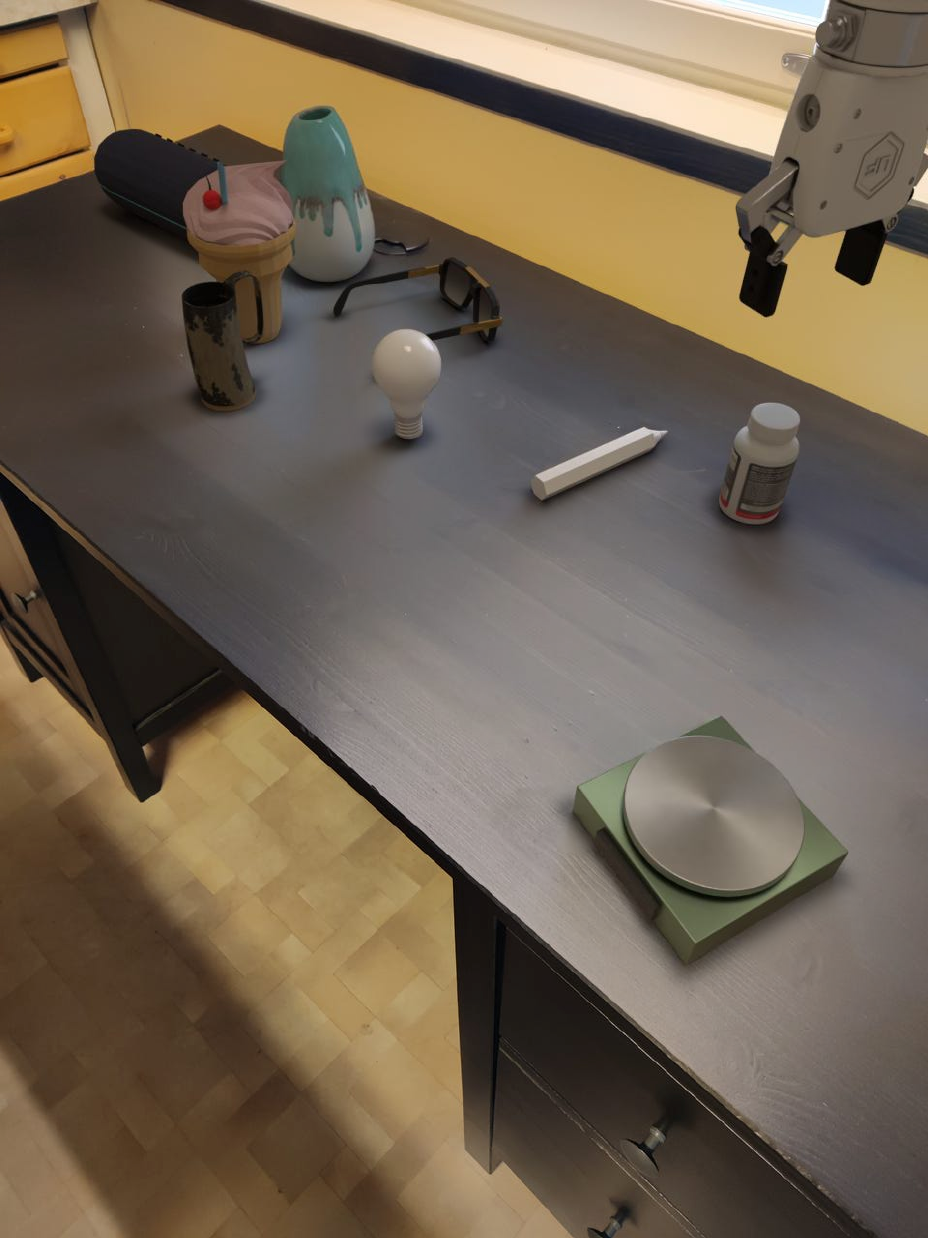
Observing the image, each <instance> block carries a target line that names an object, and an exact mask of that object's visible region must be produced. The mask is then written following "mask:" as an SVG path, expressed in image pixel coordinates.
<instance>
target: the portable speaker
mask: <svg viewBox="0 0 928 1238" xmlns="http://www.w3.org/2000/svg"><path fill="white" fill-rule="evenodd" d="M218 161H219V162H220V161H221V160H220V159H218V158H215V157H213V158H210V157H209V155H208V154H206V153H204V152H201V153H198V152H197V150H196V149H194V148H192V147H189V148H186V147H185V145H184V144H183V143H181V142H177V143H175V142H174V140H172V139H171V138H169V137H167V138H163V136H162V135H161V134H159V133H157V132H156V133H152V132H149V131H146V130H144V129H141V128H127V129H126V128H125V129H119V130H116V131H114V132H112V133H110V134H109V135H107V136H106V137H105V138H104V139H103V140H102V141H101V142H100V143H99V144H98V145H97V149H96V151H95V153H94V157H93V171H94V174H95V177H96V180H97V182H98V184H99V186H100V189H102V191H103V192H104V193H105V195H106V196H107V197H108V198H109V199H111V200H112V201H113V202H114V203H116V204H117V205H118V206H119V207H121V208H122V209H124V210H126V211H127V212H129V213H131V214H133V215H134V216H135V215H136V216H137V217H139V218H141V219H144V220H145V221H148V222H149V223H152V224H154V225H156V226H158V227H160V228H162V229H164V230H165V231H168V232H170V233H172V234H174V235H176V236H178V237H180V238H182V239H184V240H186V241H188V237H187V225H186V223H185V219H184V216H183V202H184V199H185V197H186V195H187V192H188V191H189V190H190V189H191V188H192V187H193V186H194V185H195V184H196V183H197V182H198V181H199V180H200V179H202V178H204V177H205V176H207V175H210V174H211V173H213V172H215V171H217V170H218V166H217V162H218ZM220 163H221V164H222V165H223V166H224V167H226V166H228V165H227V164H224V163H222V162H220Z"/></svg>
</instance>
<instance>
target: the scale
mask: <svg viewBox="0 0 928 1238" xmlns="http://www.w3.org/2000/svg"><path fill="white" fill-rule="evenodd" d="M687 736H709V737H715V738H721V739H725V740H728V741H732V742H735V743H737V744H740V745H742V746H745V747H746V748H748V749H750V750H752V751H754V752H756V750H754V749H753V748H752V746H751V745H750V744H749V743H748V742H747V741H746V740H745V739H744V738H743V736H742V735H741V734H740V733H739V732H738V731H737V730H736V729H735V728H734V727H733V725H731V723H729V721H727V720H726V718H725V717H724V716H723V715H722V714H721V715H718V716H716V717H714V718H712V719H710V720H708V721H706V722H704V723H702V724H700V725H698V726H695V727H694V728H692V729H689V730H688V731H686V732H684V733H682V734H680V735H677V736H676V737H674V738H673V739H675V738H680V737H687ZM647 752H648V751H646V752H644V753H642V754H640V755H638V756H636V757H633V758H632V759H629V760H628V761H626V762H624V763H622V764H620V765H617V766H616V767H613V768H611V769H609V770H607V771H606V772H603V773H601V774H600V775H597V776H595V777H593V778H591V779H589V780H587V781H585V782H583V783H581V784H579V785H578V786H576V789H575V790H576V791H575V795H574V802H573V807H572V813H574V815H575V816H576V818H577V819H578V821H579V822H580V823H581V824H582V826H583V827H584V828H585V831H587V833H588V834H589V836H590V837H591V838H592V839H593V846H595V848H596V849H597V851H598V852H599V854H601V856H602V857H603V859H604V860H605V861H606V863H607V864H608V865H609V867H610V868H611V870H612V871H613V872H614V874H615V875H616V877H617V878H618V880H619V881H620V882H621V883H622V885H623V886H624V887H625V889H626V890H627V891H628V893H629V894H630V895H631V897H632V899H633V900H634V902H635V903H636V904H637V905H638V907H639V909H641V911H642V912H643V913H644V915H645V916H646V917H647V919H648V920H649V921H650V922H653V923H654V924H655V926H656V928H657V929H658V930H659V931H660V932H661V934H662V935H663V937H665V940H666V941H667V943H669V945H670V946H671V948H672V949H673V950H674V951H675V953H676V954H677V956H678V957H679V959H681V961H682V962H683V964H684V965H685V966H687V965H689V964H690V963H693V962H694V961H696V960H697V959H699V958H700V957H702V956H704V955H705V954H707V953H708V952H710V951H712V950H713V949H716V948H717V947H718V946H720V945H722V944H724V943H725V942H726V941H728V940H730V939H731V938H732V939H733V937H735V936H737V935H739V934H740V933H741V932H744V931H746V930H747V929H748V928H749V927H751V926H754V925H755V924H756V923H758V922H760V921H761V920H763V919H765V918H767V917H768V916H770V915H771V914H773V913H774V912H776V911H778V910H780V909H781V908H783V907H784V906H786V905H788V904H790V903H791V902H793V901H794V900H796V899H799V898H800V897H801V896H803V895H804V894H806V893H808V892H809V891H811V890H813V889H815V888H816V887H817V886H820V885H821V884H823V883H824V882H826V881H828V880H830V879H831V878H832V877H834V876H835V875H836V873H837V872H838V870H839V869H840V867H841V865H842V863H843V862H844V860H845V859H846V858H847V856H848V855H849V850H848V849H846V847H845V846H844V845H843V844H842V843H841V842H840V841H839V839H837V837H836V836H835V835H834V834H832V832H831V831H830V830H829V829H828V828H827V826H825V824H823V823H822V822H821V820H820V819H819V818H818V817H817V816H816V815H815V814H814V812H812V810H810V808H809V807H807V805H806V804H805V803H804V802H803V801H802V800H801V799H800V798H799V797H798V799H799V802H800V805H801V808H802V812H803V817H804V827H805V832H804V841H803V844H802V848H801V851H800V853H799V855H798V857H797V859H796V861H795V862H794V864H793V866H792V867H791V868H790V870H789V871H788V873H787V874H786V875H784V876H783V877H782V878H781V879H780V880H779V881H778V882H776V883H775V884H773V885H772V886H770V887H768V888H766V889H764V890H762V891H759V892H756V893H753V894H749V895H743V896H732V897H724V896H713V895H708V894H703V893H699V892H696V891H693V890H690V889H688V888H685V887H683V886H681V885H679V884H677V883H675V882H673V881H672V880H670V879H668V878H667V877H665V876H664V875H663V874H661V873H660V872H658V871H657V870H656V869H655V868H654V867H653V866H652V865H651V864H650V863H648V862H647V860H646V859H645V858H644V857H643V856H642V855H641V853H640V852H639V851H638V849H637V848H636V846H635V845H634V843H633V841H632V839H631V837H630V835H629V833H628V830H627V827H626V824H625V820H624V815H623V794H624V790H625V786H626V782H627V778H628V776H629V774H630V772H631V770H632V768H633V767H634V765H635V764H636V762H637V761H638V760H639V759H640V758H641V757H642V756H643V755H644V754H645V753H647Z"/></svg>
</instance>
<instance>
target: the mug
mask: <svg viewBox="0 0 928 1238" xmlns="http://www.w3.org/2000/svg"><path fill="white" fill-rule="evenodd" d="M246 277H253V283H254V290H255V298H256V307H257V319H258V322H257V333H256V334H255V335H254V336H253V337H251V338H248V339H245V340H244V341H242V337H241V331H240V325H239V319H238V313H237V302H236V292H235V283H236V282H237V281H239V280H240V279H243V278H246ZM181 307H182V315H183V316H182V317H183V325H184V332H185V337H186V343H187V344H186V345H187V350H188V354H189V359H190V363H191V366H192V372H193V375H194V379H195V383H196V385H197V389H198V392H199V395H200V399H201V402H202V404H203V405H204V406H205V407H206V408H208V409H210V410H212V411H217V412H233V411H238V410H241V409H244V408H245V407H248V406H250V405H251V404H252V403H253V402H254V400H256V397H257V390H256V386H255V383H254V379H253V377H252V373H251V371H250V368H249V367H250V366H249V364H248V360H247V355H246V351H245V348H244V343H245V344H246V345H250V344H252V343H254V342H257V341H258V340H260V339H261V337H262V334H263V326H264V322H263V306H262V296H261V287H260V282H259V280H258V279H257V278H256V277H255V276H253V275H252V274H251V273H250V272H249V271H245V270H243V271H239V272H236V273H233V274H232V275H231V276H229V277H228V278H227V279H226V280H225V281H224V282H223V283H222V282H217V281H203V282H199V283H195V284H192V285H190V286H188V287H187V288H186V289H185V290H183V291H182V293H181Z"/></svg>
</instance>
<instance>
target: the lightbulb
mask: <svg viewBox="0 0 928 1238" xmlns="http://www.w3.org/2000/svg"><path fill="white" fill-rule="evenodd" d="M425 334H426V333H424V332H422V331H420V330H416V329H413V328H401V329H396V330H393V331H391V332H388V333H387V334H386V335H384V336H383V337H382V338H381V339H380V340H379V342H378V343H377V344H376V346H375V348H374V350H373V352H372V356H371V357H372V358H371V371H372V376H373V378H374V381H375V383H376V385H377V386H378V388H379V389H380V390H381V391H382V392H383V394H384V395H385V396H386V397H387V399H388V400H389V404H390V407H391V409H392V411H393V416H394V428H395V429H394V432H395V434H396V435H397V436H398V437H399V438H400V439H401V438H402V439H404V440H413V439H416V438H419V437H420V436H421V435H422V434H423V432H424V430H423V429H424V425H423V424H424V423H423V411H424V409H425V407H426V404H427V399H428V397H429V395H430V394H431V393H432V391H433V390H434V389H435V387H436V386H437V384H438V383H439V381H440V377H441V373H442V358H441V354H440V351H439V348H438V347H437V345H436V343H434V341H432V340H431V339H430V338H429V337H428V336H426V335H425Z"/></svg>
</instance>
